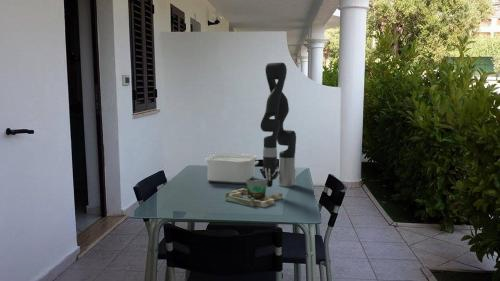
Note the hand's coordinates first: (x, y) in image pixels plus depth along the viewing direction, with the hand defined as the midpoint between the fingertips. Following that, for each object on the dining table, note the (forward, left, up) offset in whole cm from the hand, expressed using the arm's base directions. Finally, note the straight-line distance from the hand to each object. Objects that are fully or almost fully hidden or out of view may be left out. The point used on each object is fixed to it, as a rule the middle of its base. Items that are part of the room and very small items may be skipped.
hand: (269, 186), depth 250 cm
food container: (+10, 0, -5) cm, 11 cm away
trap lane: (+13, 0, -4) cm, 14 cm away
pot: (-15, -43, -5) cm, 46 cm away
